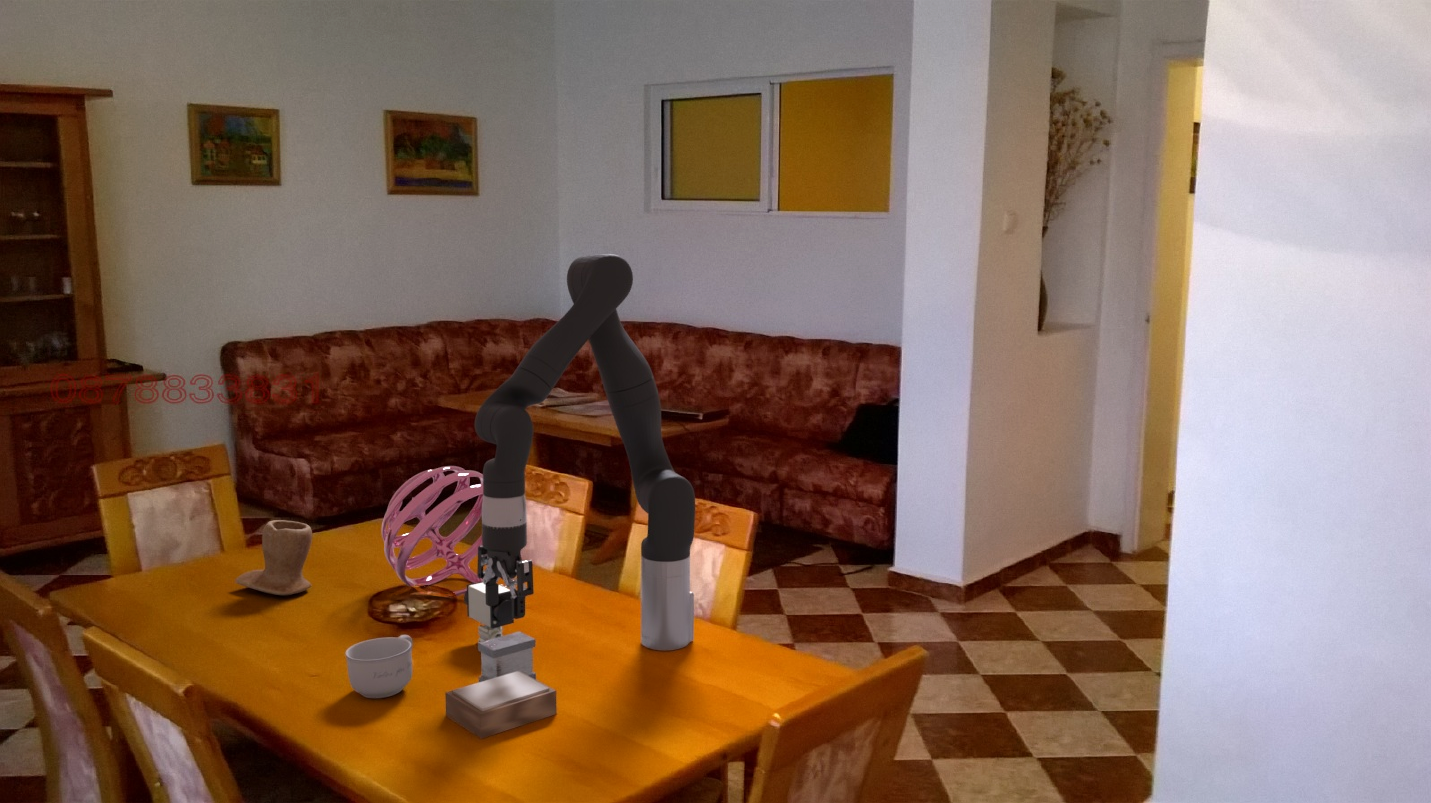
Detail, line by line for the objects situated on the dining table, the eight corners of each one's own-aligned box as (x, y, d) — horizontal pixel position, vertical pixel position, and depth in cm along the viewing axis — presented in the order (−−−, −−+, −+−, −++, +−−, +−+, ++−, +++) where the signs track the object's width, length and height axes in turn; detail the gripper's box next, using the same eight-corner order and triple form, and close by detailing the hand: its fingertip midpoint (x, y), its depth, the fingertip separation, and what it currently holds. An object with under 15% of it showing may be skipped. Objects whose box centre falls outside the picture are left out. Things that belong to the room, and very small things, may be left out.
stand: (519, 693, 199) (519, 668, 199) (556, 713, 191) (556, 688, 191) (445, 715, 190) (445, 689, 189) (481, 738, 182) (480, 711, 181)
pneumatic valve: (496, 654, 216) (495, 592, 215) (464, 637, 225) (462, 577, 223) (522, 647, 220) (521, 586, 218) (489, 631, 229) (487, 571, 227)
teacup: (378, 709, 192) (376, 663, 191) (333, 695, 198) (331, 649, 197) (439, 681, 204) (438, 637, 203) (395, 668, 210) (394, 625, 208)
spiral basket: (553, 505, 248) (472, 423, 257) (447, 563, 229) (363, 472, 238) (526, 584, 266) (451, 505, 275) (425, 644, 247) (349, 557, 256)
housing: (520, 672, 209) (519, 631, 207) (535, 680, 205) (535, 639, 204) (478, 684, 203) (477, 642, 202) (494, 693, 199) (493, 650, 198)
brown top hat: (326, 588, 253) (323, 521, 251) (279, 603, 244) (276, 533, 241) (281, 576, 262) (278, 511, 259) (234, 590, 252) (230, 522, 249)
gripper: (546, 524, 197) (546, 617, 199) (501, 508, 207) (502, 596, 210) (507, 532, 192) (508, 627, 194) (463, 514, 202) (464, 605, 205)
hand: (505, 611), depth 202 cm, fingers open, 8 cm apart
